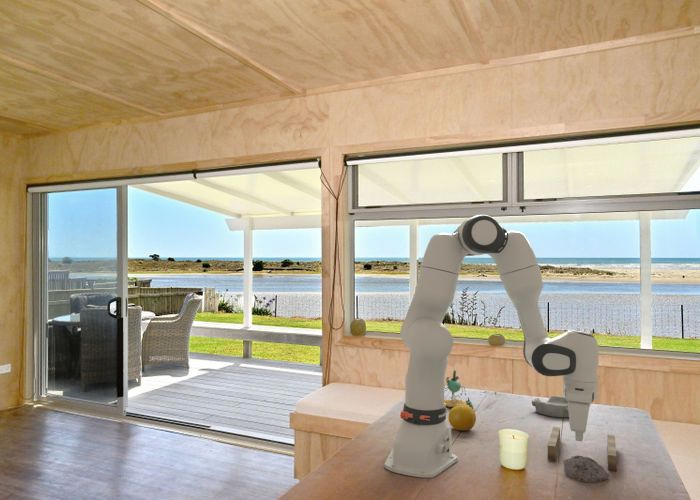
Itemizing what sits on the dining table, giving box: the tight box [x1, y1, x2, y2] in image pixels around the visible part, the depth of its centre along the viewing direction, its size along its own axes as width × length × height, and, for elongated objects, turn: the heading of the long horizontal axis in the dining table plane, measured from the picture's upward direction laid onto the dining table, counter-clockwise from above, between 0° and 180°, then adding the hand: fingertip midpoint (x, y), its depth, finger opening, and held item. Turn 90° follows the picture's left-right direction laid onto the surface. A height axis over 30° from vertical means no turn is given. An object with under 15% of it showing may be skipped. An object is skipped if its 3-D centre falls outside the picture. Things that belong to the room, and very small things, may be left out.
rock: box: [563, 455, 610, 483], centre depth 130 cm, size 9×11×4 cm
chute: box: [547, 426, 618, 472], centre depth 144 cm, size 18×17×4 cm
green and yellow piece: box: [444, 369, 476, 413], centre depth 193 cm, size 10×18×15 cm, turn 22°
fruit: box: [447, 405, 477, 432], centre depth 165 cm, size 9×8×8 cm
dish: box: [531, 395, 569, 418], centre depth 184 cm, size 14×14×5 cm
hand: (579, 439), depth 139 cm, fingers closed
